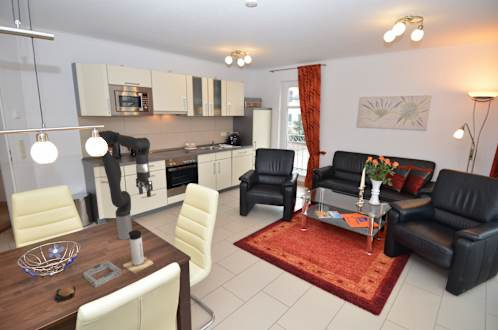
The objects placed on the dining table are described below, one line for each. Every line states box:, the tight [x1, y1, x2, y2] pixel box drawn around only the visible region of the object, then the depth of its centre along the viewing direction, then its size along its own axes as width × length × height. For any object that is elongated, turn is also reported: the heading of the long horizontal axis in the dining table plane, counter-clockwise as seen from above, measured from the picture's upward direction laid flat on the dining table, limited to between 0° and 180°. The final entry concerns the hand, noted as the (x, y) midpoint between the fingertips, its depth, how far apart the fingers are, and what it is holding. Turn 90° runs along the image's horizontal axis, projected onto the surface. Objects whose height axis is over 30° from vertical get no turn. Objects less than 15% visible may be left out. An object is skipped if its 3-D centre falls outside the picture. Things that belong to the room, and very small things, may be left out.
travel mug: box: [128, 230, 145, 266], centre depth 147 cm, size 6×7×20 cm
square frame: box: [83, 260, 122, 289], centre depth 138 cm, size 13×13×4 cm
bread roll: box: [53, 285, 76, 304], centre depth 125 cm, size 11×8×4 cm
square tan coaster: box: [122, 256, 154, 275], centre depth 149 cm, size 12×12×1 cm
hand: (145, 195), depth 160 cm, fingers open, 8 cm apart
